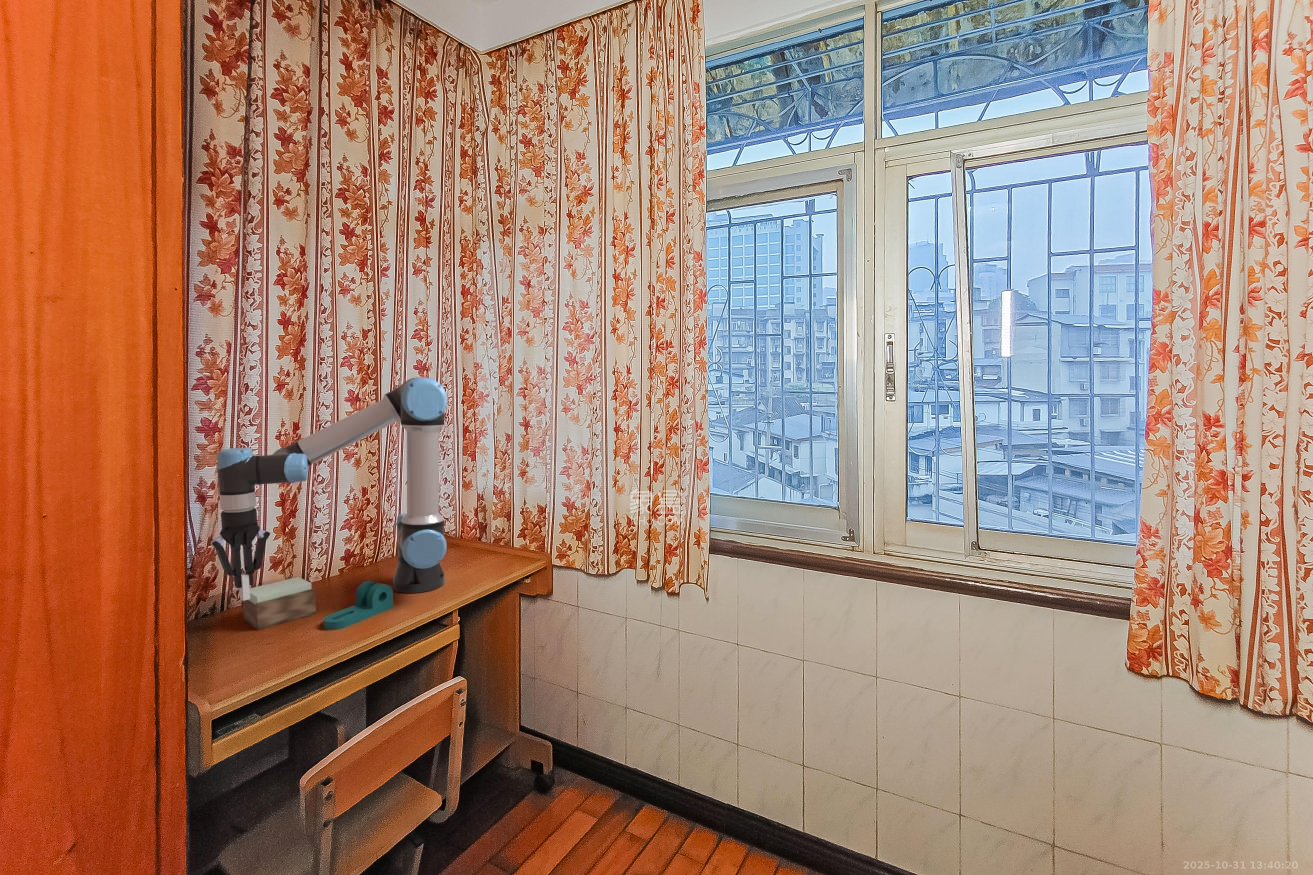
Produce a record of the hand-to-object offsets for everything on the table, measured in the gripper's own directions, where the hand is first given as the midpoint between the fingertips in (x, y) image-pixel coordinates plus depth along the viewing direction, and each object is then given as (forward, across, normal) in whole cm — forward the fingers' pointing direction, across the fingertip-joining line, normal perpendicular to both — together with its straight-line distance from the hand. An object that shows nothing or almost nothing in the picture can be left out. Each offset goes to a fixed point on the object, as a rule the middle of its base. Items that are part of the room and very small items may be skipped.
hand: (245, 598), depth 155 cm
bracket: (+8, -21, +16) cm, 27 cm away
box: (+8, -8, 0) cm, 11 cm away
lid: (+2, -8, 0) cm, 8 cm away
